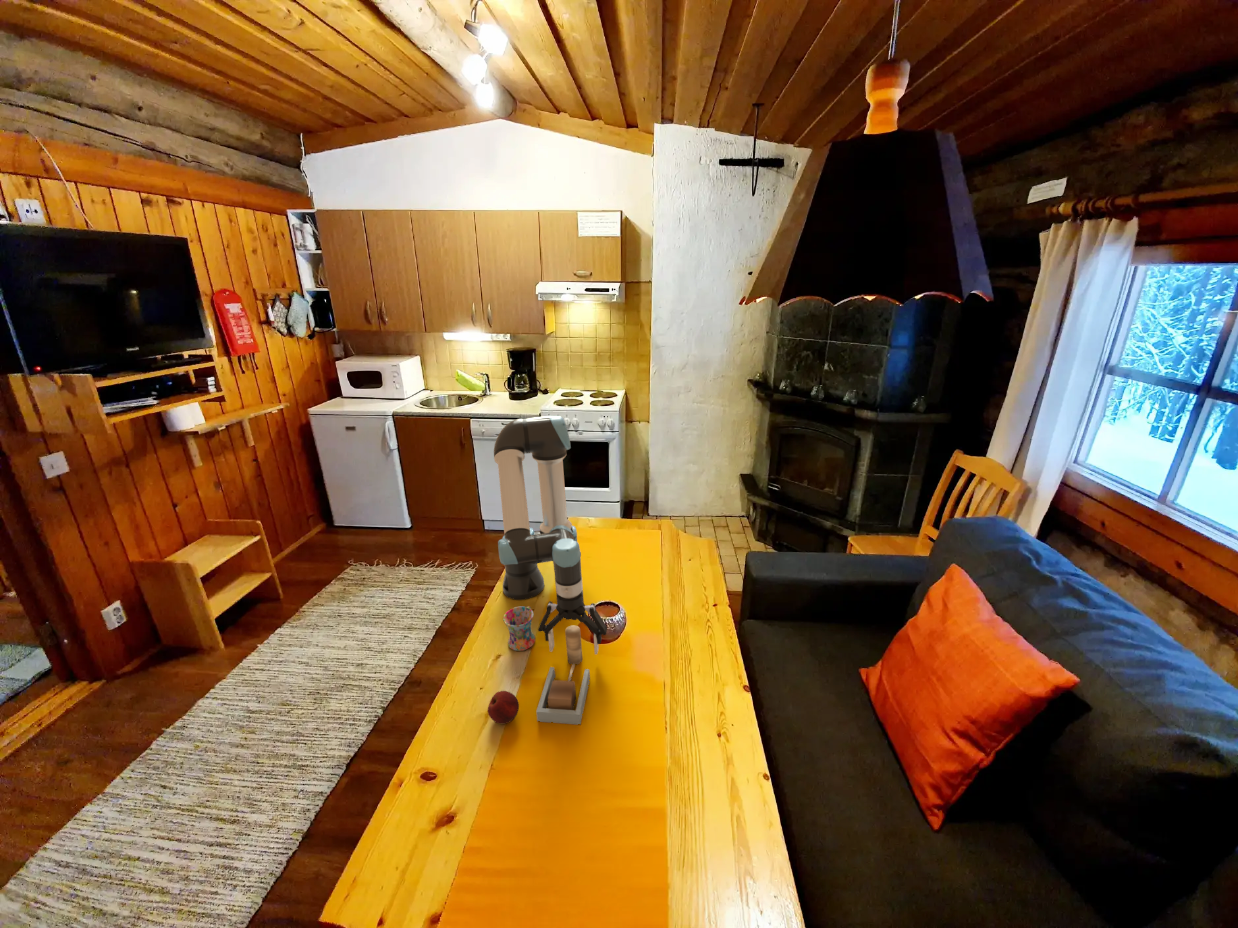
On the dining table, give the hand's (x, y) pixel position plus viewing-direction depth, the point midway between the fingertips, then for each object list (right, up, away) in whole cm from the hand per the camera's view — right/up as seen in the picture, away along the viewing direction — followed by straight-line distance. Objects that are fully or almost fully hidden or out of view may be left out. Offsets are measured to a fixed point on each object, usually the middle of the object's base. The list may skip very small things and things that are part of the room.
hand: (574, 649), depth 145 cm
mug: (-17, -1, +10) cm, 20 cm away
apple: (-17, -12, -17) cm, 26 cm away
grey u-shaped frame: (-1, -9, -12) cm, 14 cm away
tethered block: (-1, -7, -7) cm, 10 cm away
